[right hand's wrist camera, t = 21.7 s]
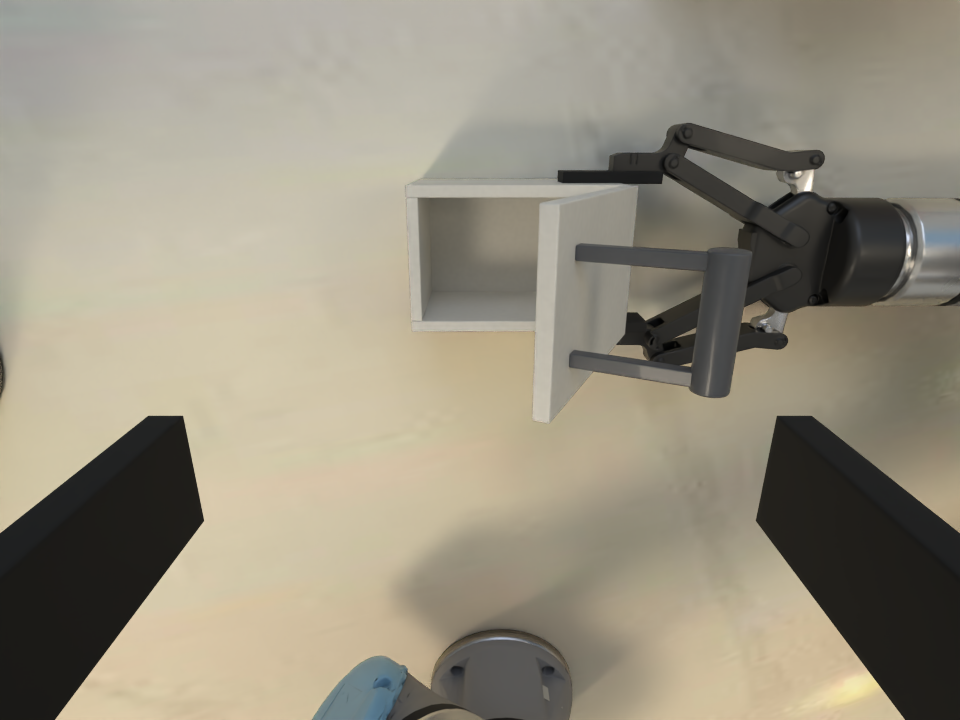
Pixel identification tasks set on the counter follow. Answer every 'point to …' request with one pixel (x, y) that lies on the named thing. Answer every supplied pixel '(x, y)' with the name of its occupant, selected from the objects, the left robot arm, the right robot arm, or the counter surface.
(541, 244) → the lid
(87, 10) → the counter surface
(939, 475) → the counter surface
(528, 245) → the white cabinet body
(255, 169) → the counter surface
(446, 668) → the left robot arm
